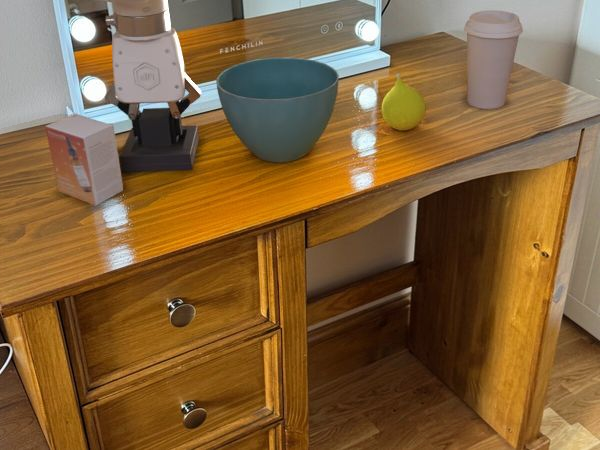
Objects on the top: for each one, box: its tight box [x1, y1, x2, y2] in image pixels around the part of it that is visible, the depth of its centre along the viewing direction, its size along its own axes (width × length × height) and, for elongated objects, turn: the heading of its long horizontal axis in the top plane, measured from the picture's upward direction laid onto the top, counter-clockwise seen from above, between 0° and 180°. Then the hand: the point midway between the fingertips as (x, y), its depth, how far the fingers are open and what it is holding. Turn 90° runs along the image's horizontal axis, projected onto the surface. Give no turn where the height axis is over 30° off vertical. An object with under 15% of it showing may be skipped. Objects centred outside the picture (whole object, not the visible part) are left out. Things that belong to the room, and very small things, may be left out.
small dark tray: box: [119, 124, 200, 173], centre depth 119 cm, size 11×11×3 cm
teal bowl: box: [215, 57, 340, 163], centre depth 117 cm, size 18×18×12 cm
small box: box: [44, 112, 124, 207], centre depth 108 cm, size 8×6×10 cm
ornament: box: [380, 66, 427, 131], centre depth 124 cm, size 7×7×10 cm
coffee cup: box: [463, 10, 524, 110], centre depth 131 cm, size 10×10×15 cm
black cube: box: [139, 107, 173, 147], centre depth 117 cm, size 4×4×4 cm
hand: (159, 138), depth 118 cm, fingers closed on black cube, 4 cm apart
